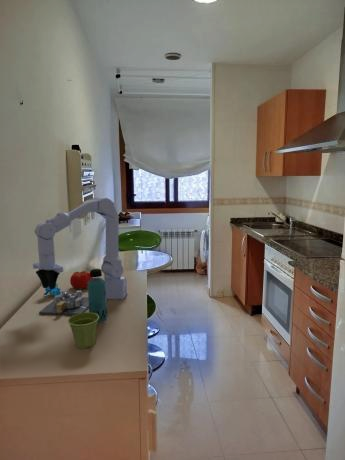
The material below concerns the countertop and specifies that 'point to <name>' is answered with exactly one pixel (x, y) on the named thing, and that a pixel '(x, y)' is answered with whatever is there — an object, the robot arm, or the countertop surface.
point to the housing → (67, 296)
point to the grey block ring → (72, 303)
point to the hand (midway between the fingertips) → (49, 288)
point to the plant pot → (84, 329)
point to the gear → (53, 291)
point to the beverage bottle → (97, 295)
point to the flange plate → (52, 309)
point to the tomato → (80, 279)
